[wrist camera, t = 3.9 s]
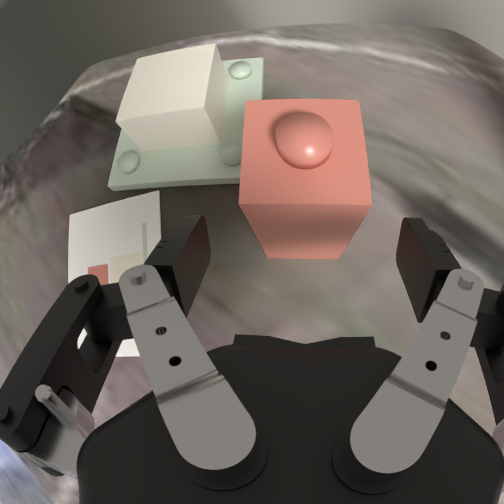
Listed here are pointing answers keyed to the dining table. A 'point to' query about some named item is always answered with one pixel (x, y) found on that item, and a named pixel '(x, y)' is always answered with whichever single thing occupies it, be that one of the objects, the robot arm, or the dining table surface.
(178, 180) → the tower base
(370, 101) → the dining table surface
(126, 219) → the page
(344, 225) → the tall brick
